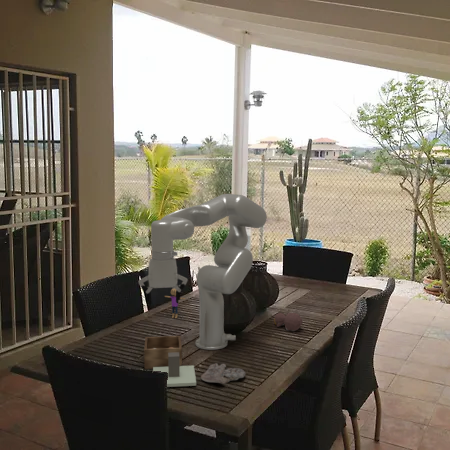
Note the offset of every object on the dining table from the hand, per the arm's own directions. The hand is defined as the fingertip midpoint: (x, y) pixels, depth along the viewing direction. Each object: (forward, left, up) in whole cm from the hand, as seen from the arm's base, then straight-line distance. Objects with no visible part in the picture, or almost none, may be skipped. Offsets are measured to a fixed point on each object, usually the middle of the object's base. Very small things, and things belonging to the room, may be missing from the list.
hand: (163, 302), depth 189 cm
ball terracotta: (-3, -4, -20) cm, 20 cm away
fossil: (-20, +15, -23) cm, 34 cm away
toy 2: (-53, -32, -22) cm, 66 cm away
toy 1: (-6, -53, -22) cm, 57 cm away
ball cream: (+3, -3, -20) cm, 20 cm away
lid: (-3, +15, -21) cm, 26 cm away
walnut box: (0, -1, -22) cm, 22 cm away
